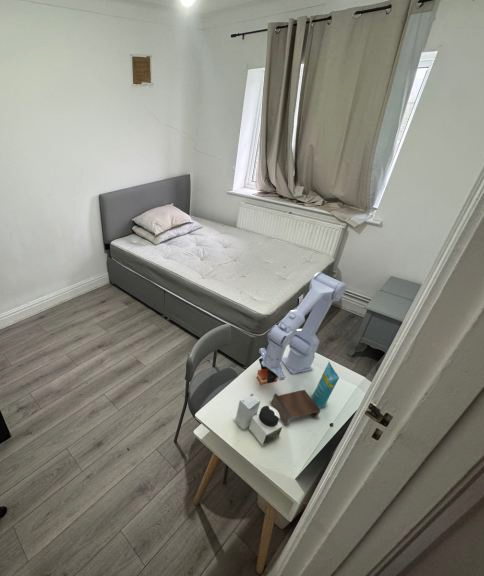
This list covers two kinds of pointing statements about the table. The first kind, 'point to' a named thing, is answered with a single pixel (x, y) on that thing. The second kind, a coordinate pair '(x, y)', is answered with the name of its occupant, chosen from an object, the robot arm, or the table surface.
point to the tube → (325, 386)
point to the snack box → (264, 376)
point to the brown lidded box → (294, 405)
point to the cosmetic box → (247, 410)
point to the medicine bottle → (266, 425)
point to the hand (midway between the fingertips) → (267, 377)
